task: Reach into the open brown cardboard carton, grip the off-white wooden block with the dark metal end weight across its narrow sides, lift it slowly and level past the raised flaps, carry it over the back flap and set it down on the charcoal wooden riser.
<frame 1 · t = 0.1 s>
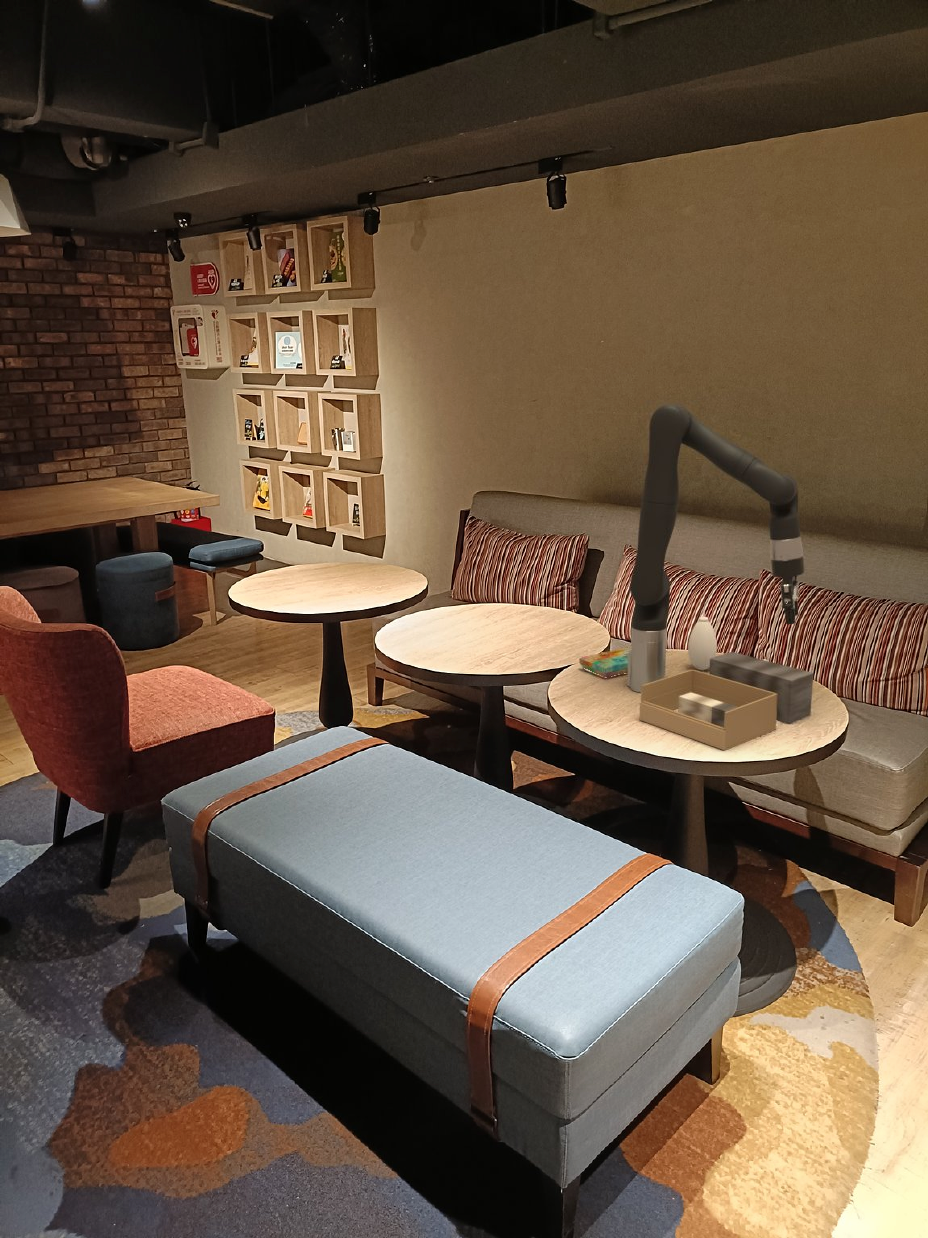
hand: (792, 619, 230), 22 cm above the table, tool pointing down, fingers open, 8 cm apart
riser: (757, 706, 234), on the table
carton: (706, 724, 223), on the table
sauce bottle: (701, 670, 265), on the table
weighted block: (706, 725, 223), resting in carton
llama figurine: (760, 686, 251), on the table
puzzle game: (619, 670, 268), on the table
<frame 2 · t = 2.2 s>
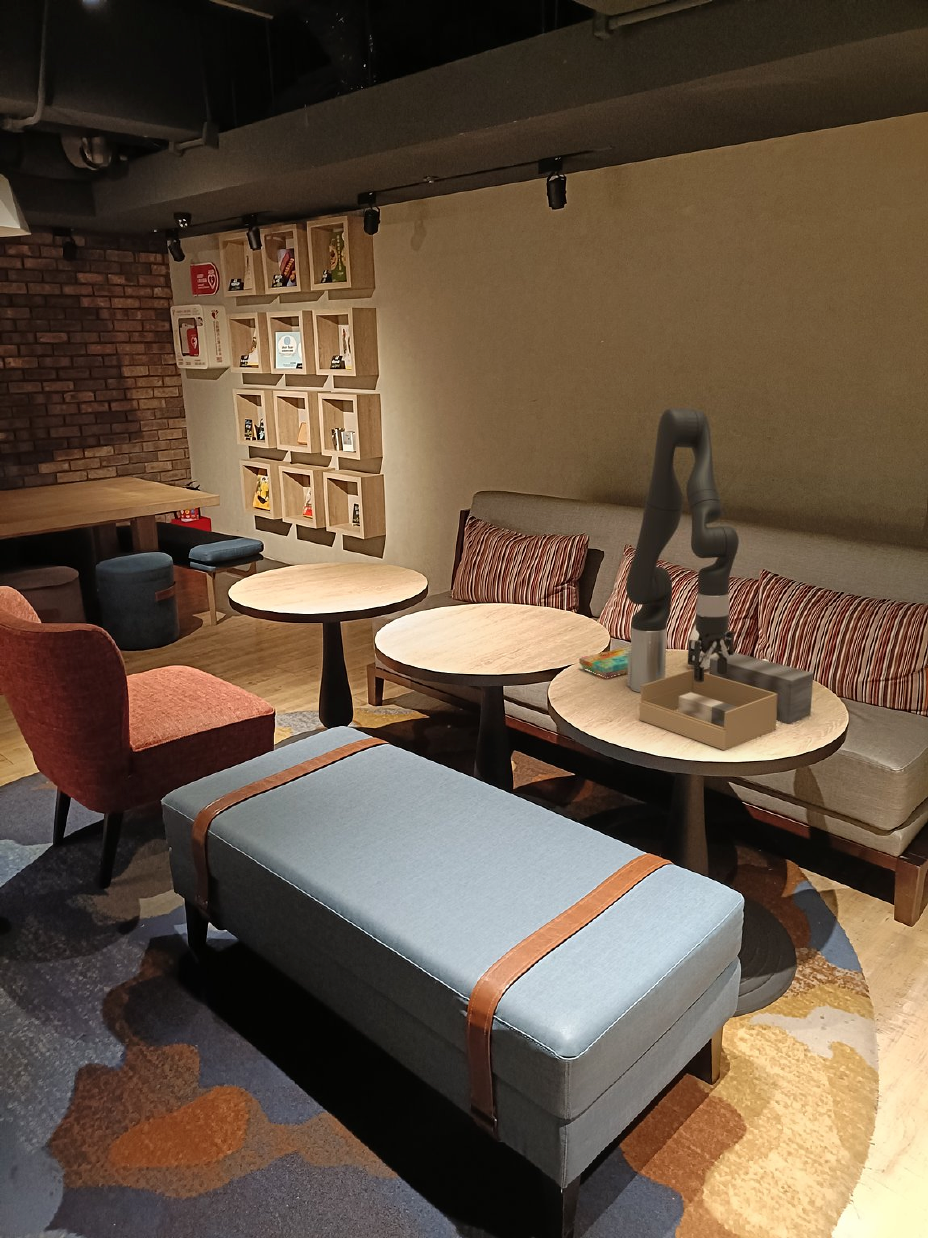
hand: (710, 677, 220), 12 cm above the table, tool pointing down, fingers open, 8 cm apart
nothing on the table moved.
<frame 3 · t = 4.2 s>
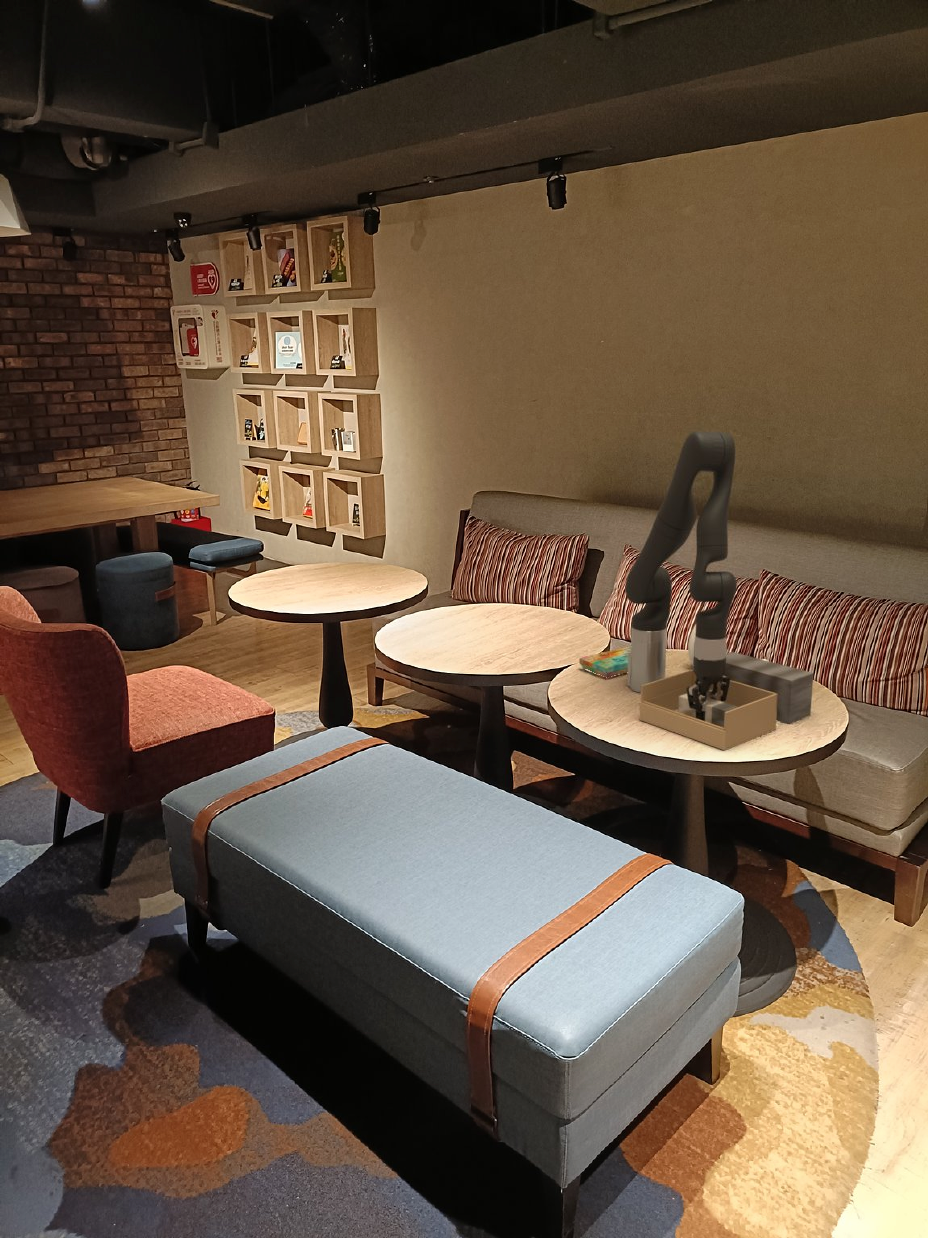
hand: (707, 721, 223), 1 cm above the table, tool pointing down, fingers closed on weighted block, 4 cm apart
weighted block: (706, 724, 223), resting in carton, touching gripper
everything else where it was.
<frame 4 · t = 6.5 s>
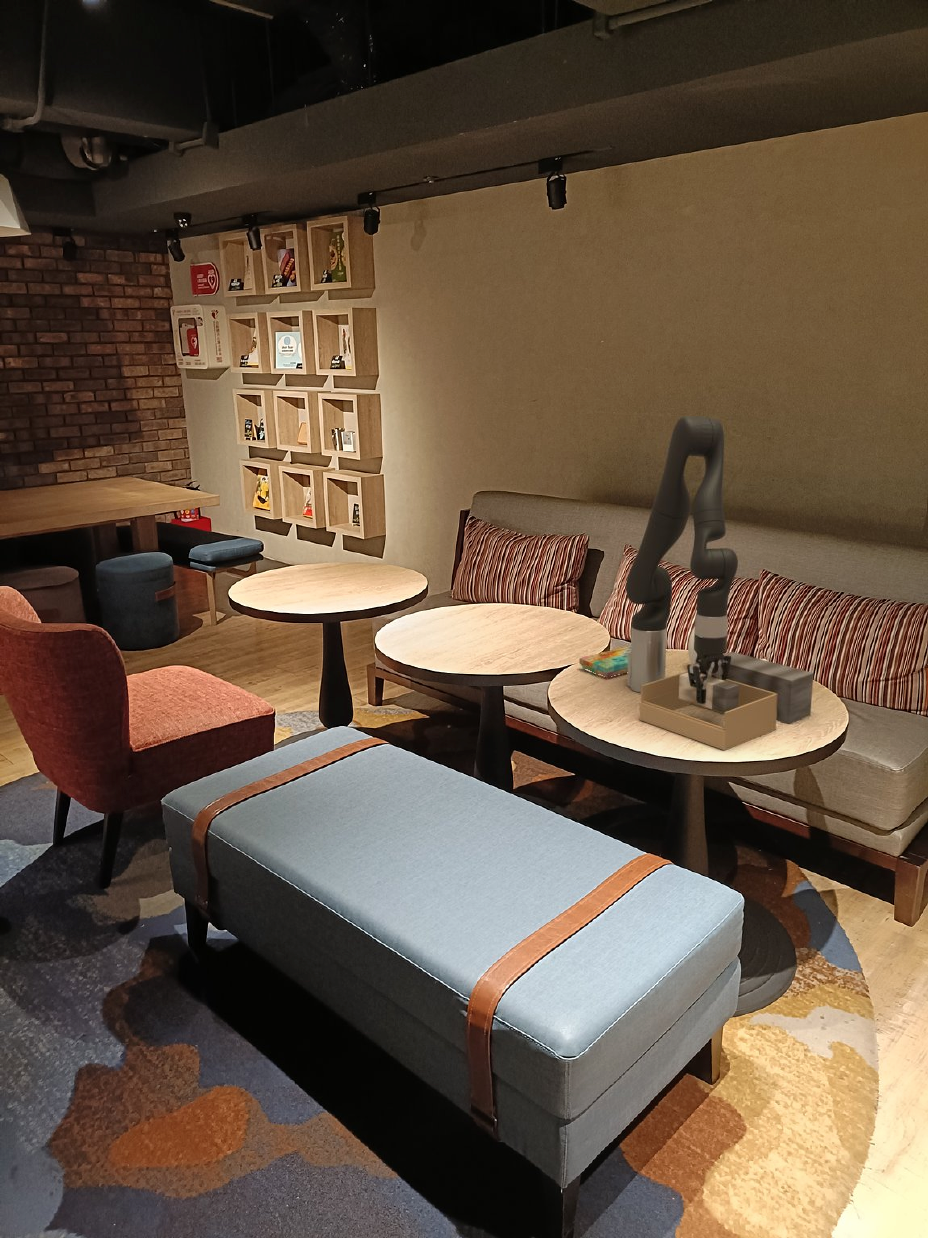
hand: (707, 700, 222), 6 cm above the table, tool pointing down, fingers closed on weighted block, 4 cm apart
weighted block: (707, 703, 222), point 5 cm above the table, touching gripper
everything else where it was.
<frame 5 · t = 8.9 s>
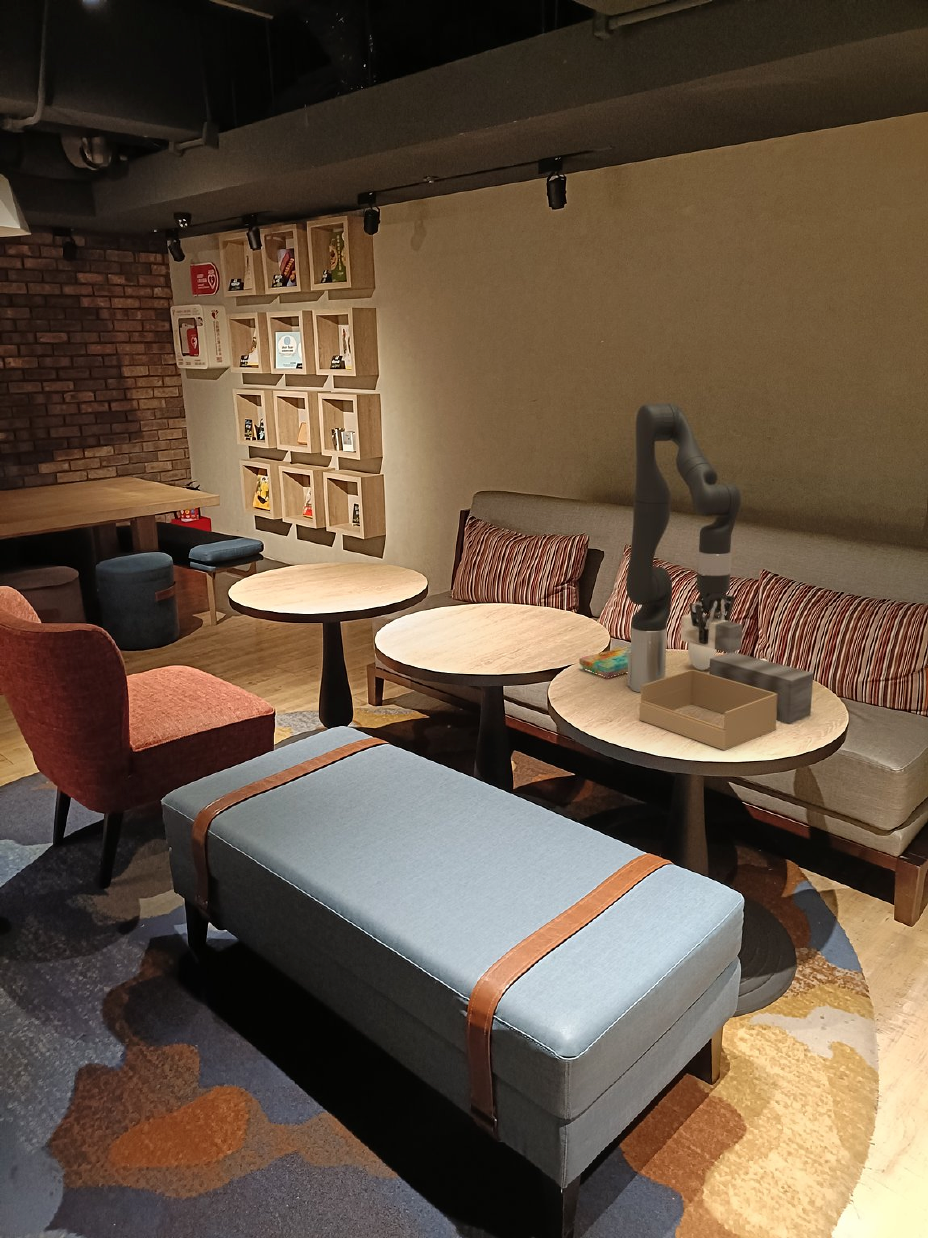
hand: (710, 641, 218), 21 cm above the table, tool pointing down, fingers closed on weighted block, 4 cm apart
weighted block: (710, 644, 218), point 20 cm above the table, touching gripper
everything else where it was.
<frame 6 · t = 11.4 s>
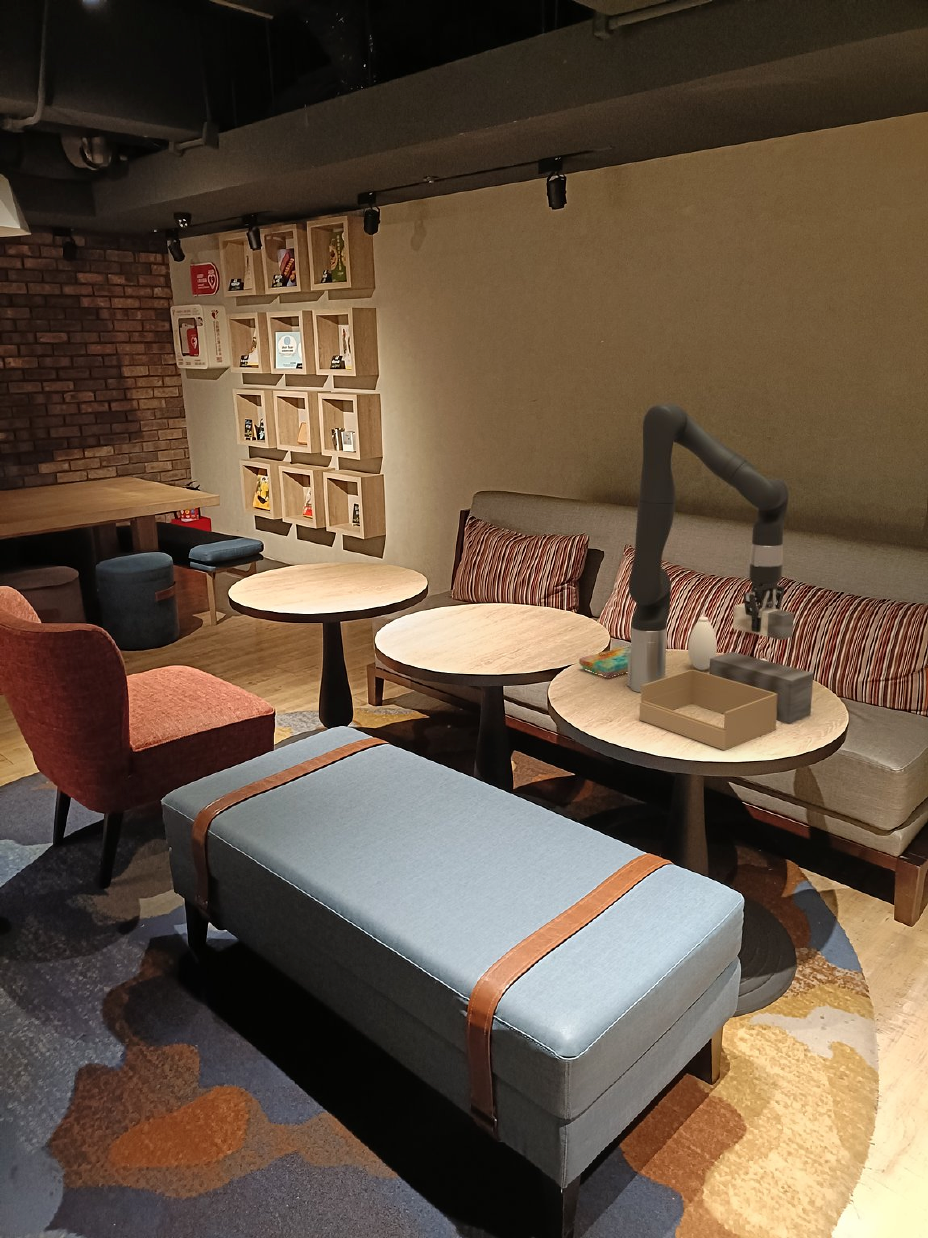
hand: (762, 629, 229), 20 cm above the table, tool pointing down, fingers closed on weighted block, 4 cm apart
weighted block: (762, 632, 229), point 20 cm above the table, touching gripper
everything else where it was.
when the fingers open (13 cm above the table, at t = 13.7 s): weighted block drops 1 cm, resting on riser.
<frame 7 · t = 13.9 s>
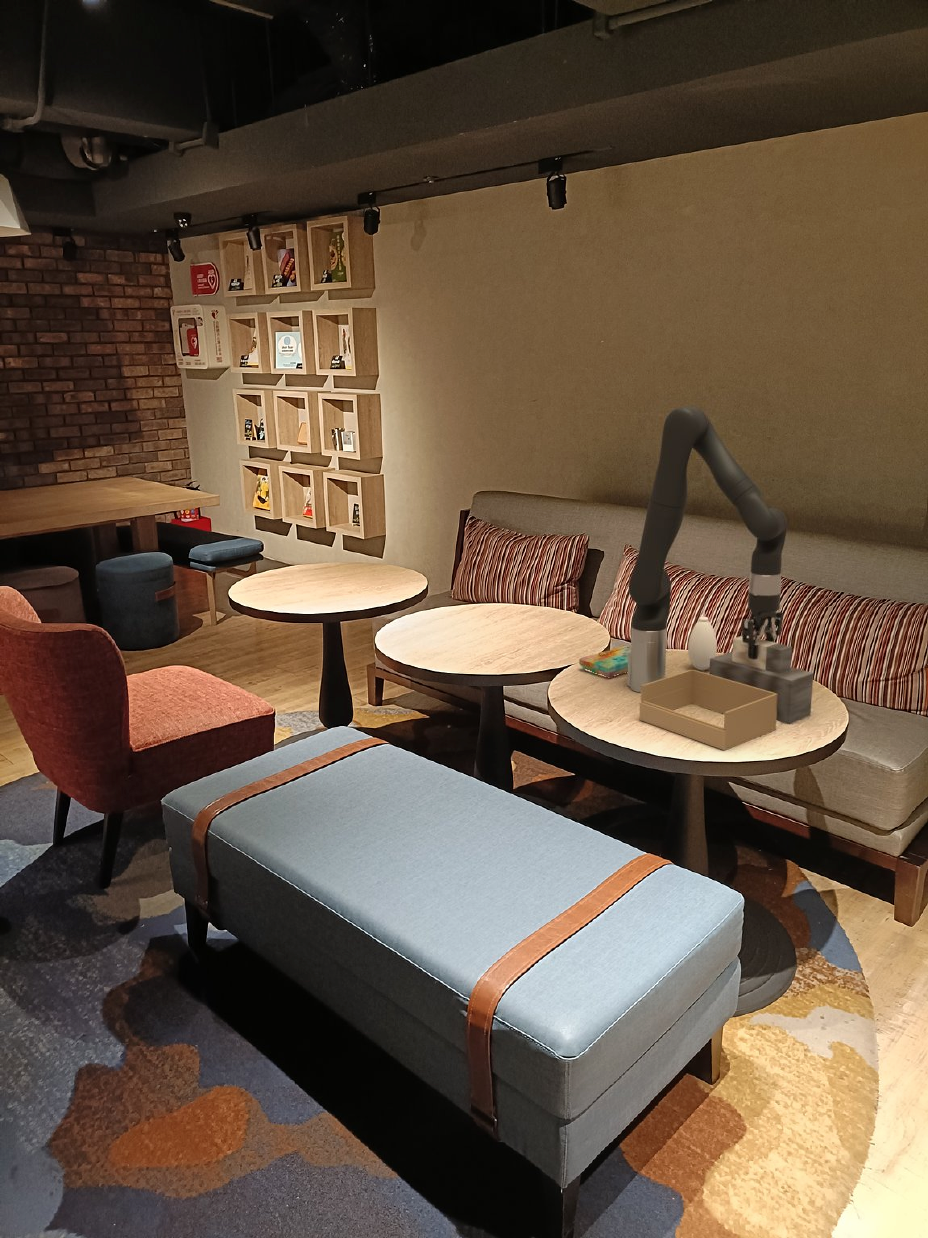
hand: (760, 655, 231), 14 cm above the table, tool pointing down, fingers open, 6 cm apart
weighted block: (760, 665, 232), point 11 cm above the table, touching riser
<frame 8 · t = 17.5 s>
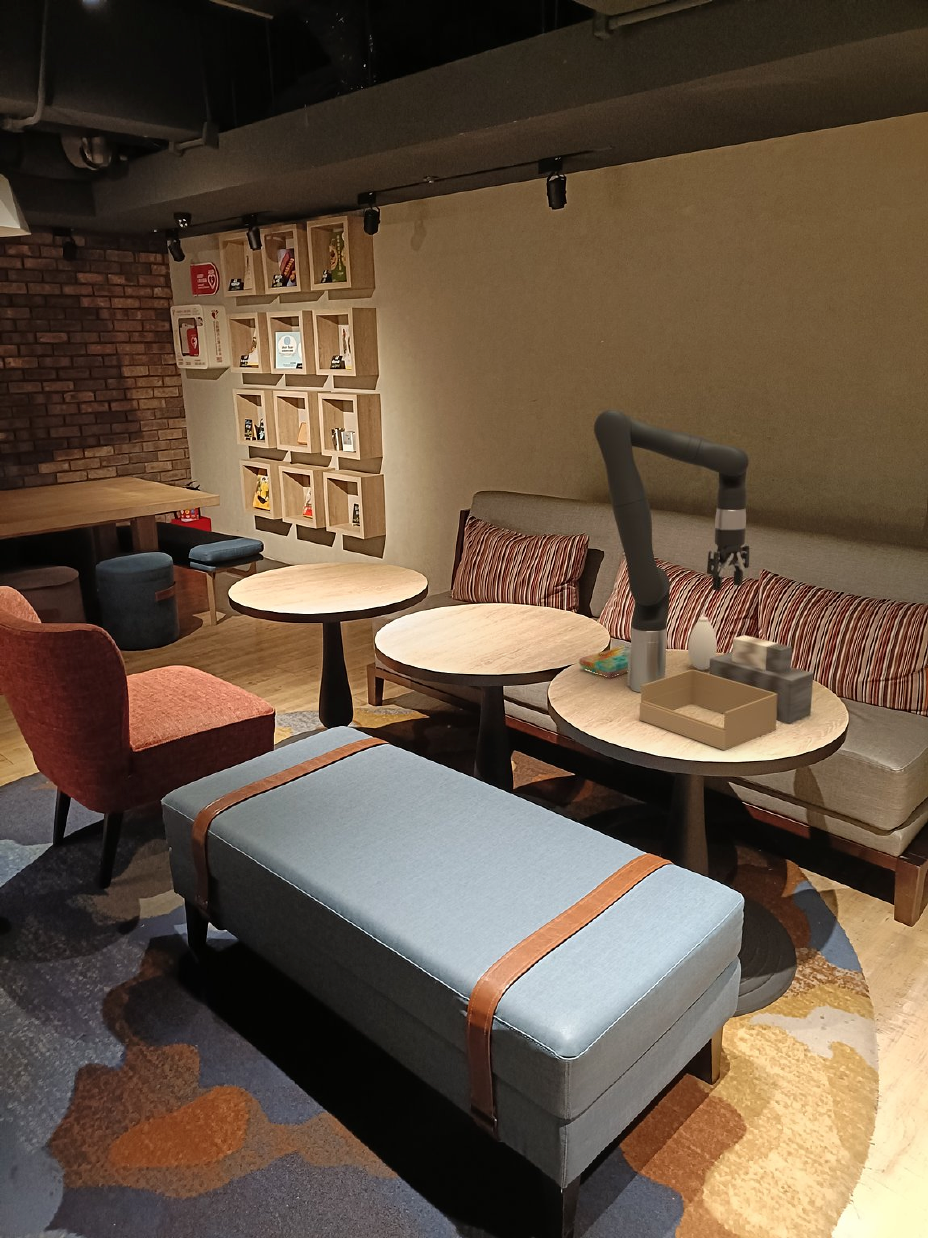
hand: (727, 587, 240), 28 cm above the table, tool pointing down, fingers open, 8 cm apart
at the end: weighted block inside the target area on the riser (0.2 cm from its centre), point 11.0 cm above the riser's base; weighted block tilted 0°; the gripper is holding nothing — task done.
